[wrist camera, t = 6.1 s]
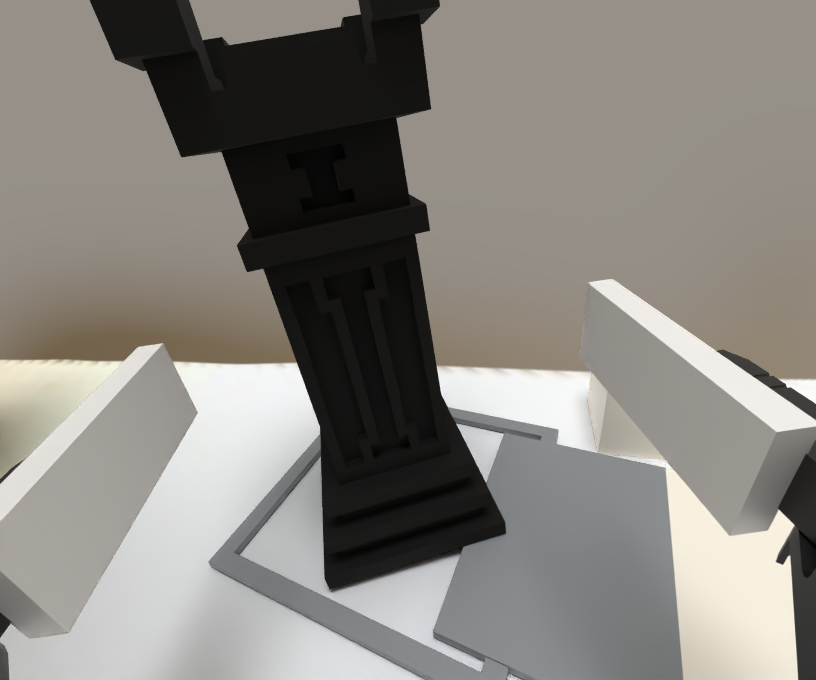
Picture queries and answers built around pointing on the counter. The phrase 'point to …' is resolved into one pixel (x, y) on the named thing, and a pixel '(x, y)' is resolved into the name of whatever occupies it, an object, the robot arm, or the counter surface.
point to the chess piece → (332, 254)
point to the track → (617, 577)
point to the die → (615, 426)
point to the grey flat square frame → (438, 669)
